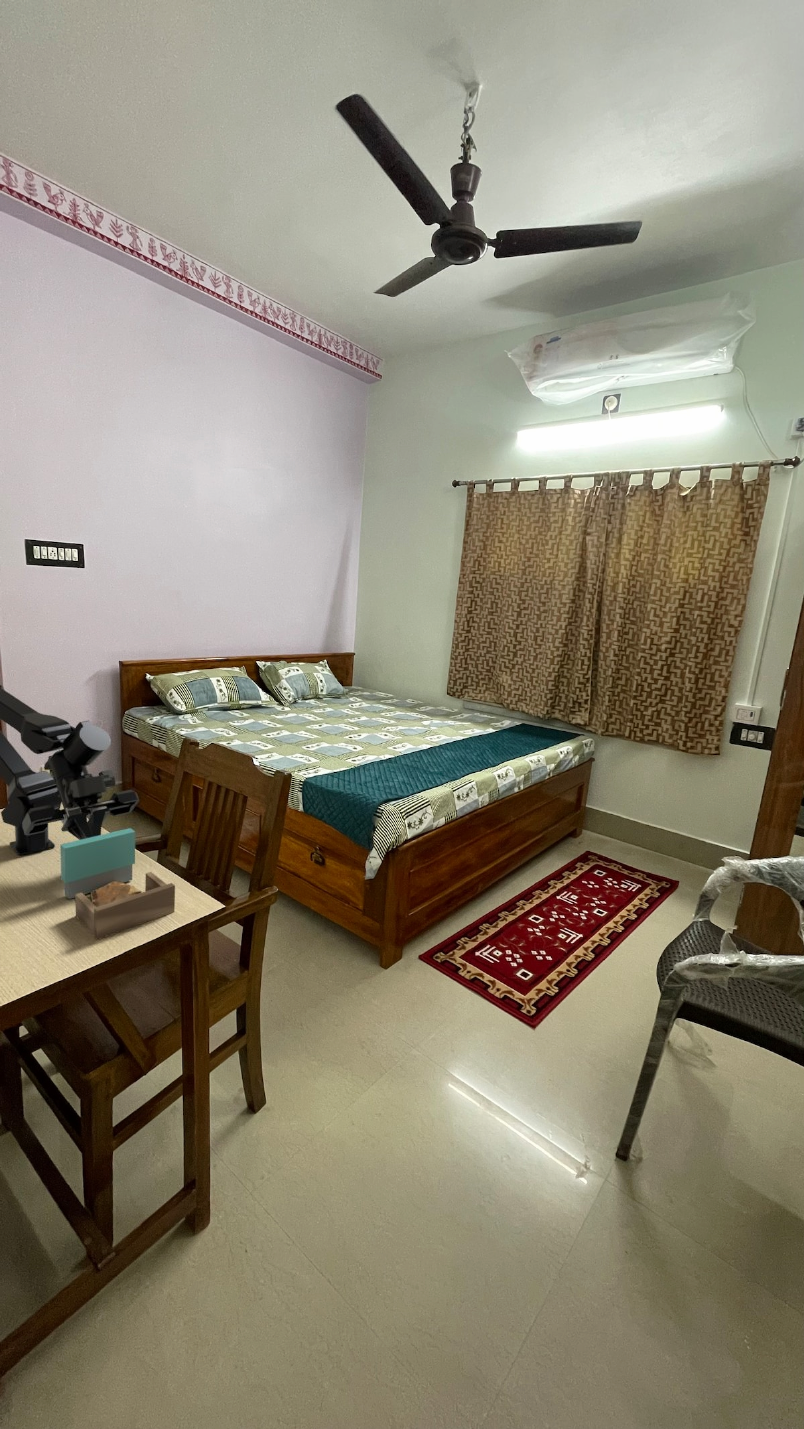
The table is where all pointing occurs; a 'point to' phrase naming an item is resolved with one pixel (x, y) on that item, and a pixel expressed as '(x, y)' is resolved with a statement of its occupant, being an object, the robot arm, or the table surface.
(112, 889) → the shard
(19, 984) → the table surface
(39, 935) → the table surface
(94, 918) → the box
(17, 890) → the table surface
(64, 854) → the block
